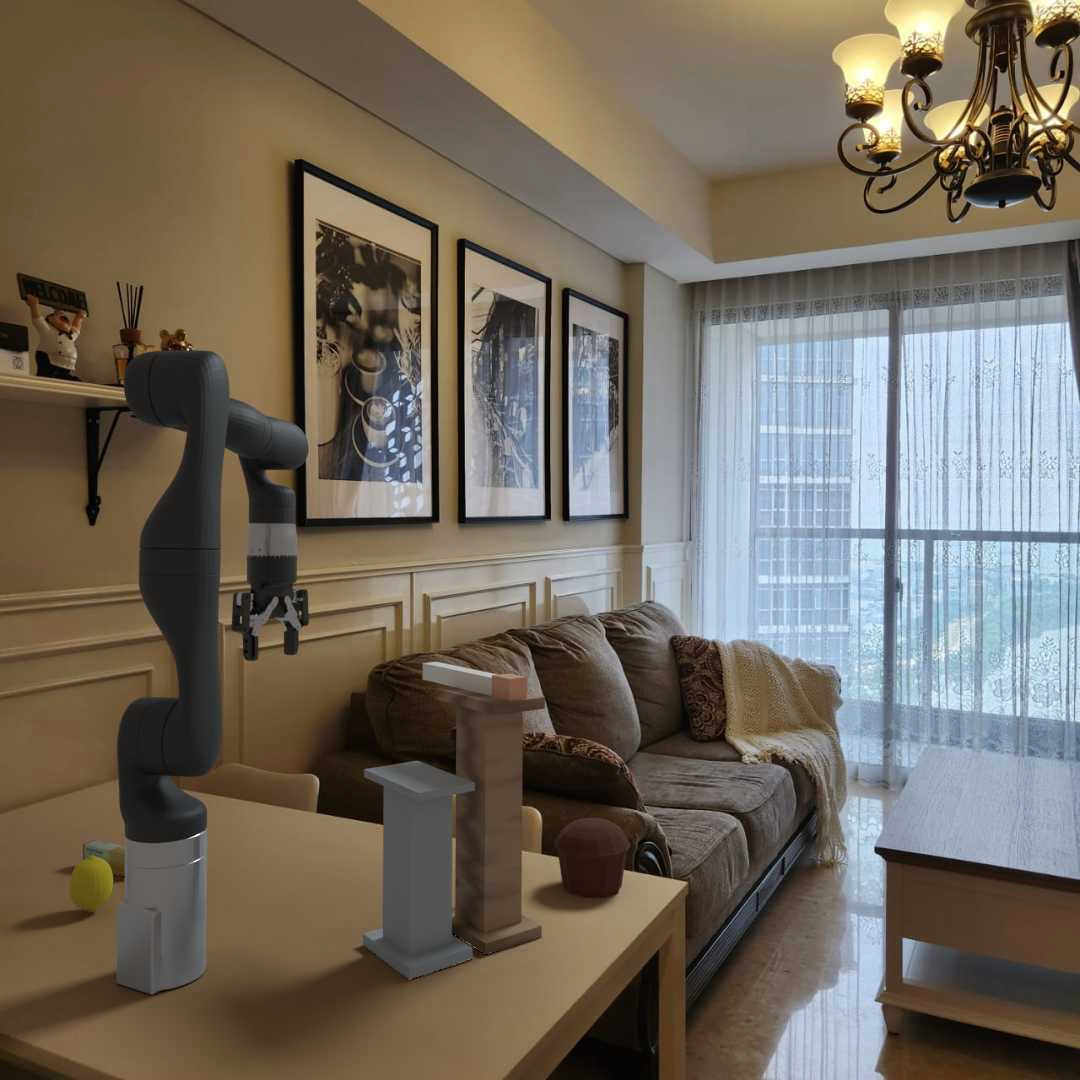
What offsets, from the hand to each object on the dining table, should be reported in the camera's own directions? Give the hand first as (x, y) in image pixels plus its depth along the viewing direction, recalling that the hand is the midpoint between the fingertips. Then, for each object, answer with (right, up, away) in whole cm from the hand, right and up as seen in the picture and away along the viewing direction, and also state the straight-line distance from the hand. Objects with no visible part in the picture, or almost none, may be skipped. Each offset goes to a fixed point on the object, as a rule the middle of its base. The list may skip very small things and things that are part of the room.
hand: (271, 657), depth 144 cm
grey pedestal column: (+26, -34, -26) cm, 50 cm away
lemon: (-21, -34, -14) cm, 43 cm away
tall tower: (+35, -34, -19) cm, 52 cm away
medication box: (-25, -34, +2) cm, 43 cm away
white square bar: (+32, -2, -16) cm, 36 cm away
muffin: (+50, -35, -3) cm, 61 cm away
